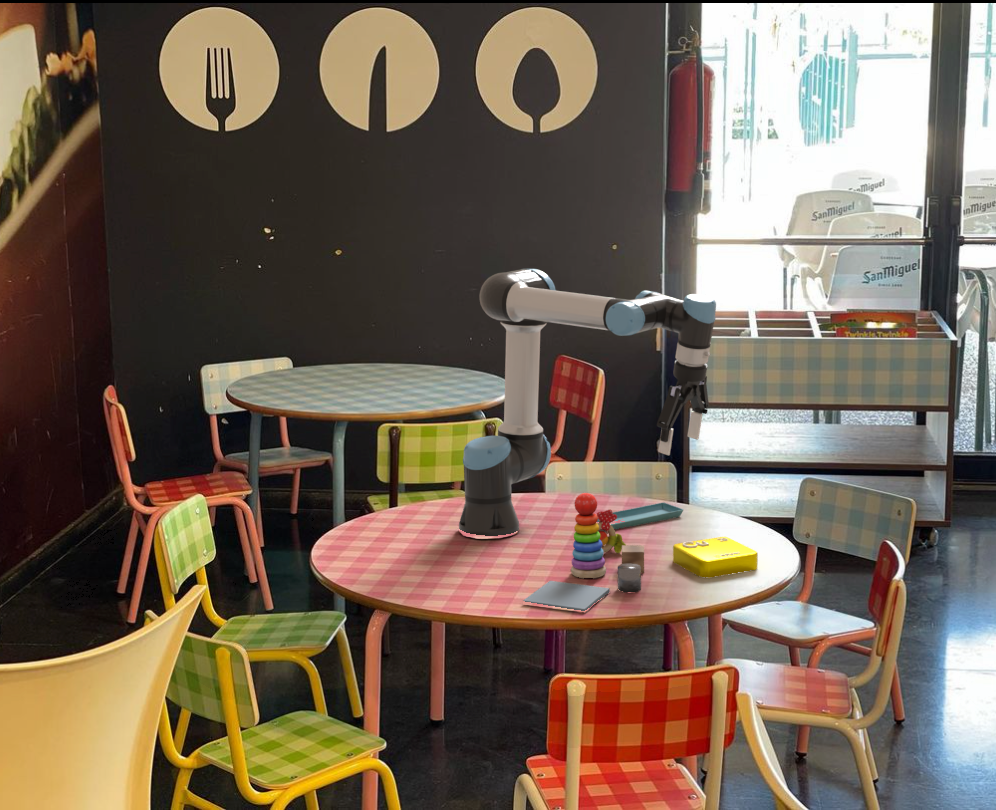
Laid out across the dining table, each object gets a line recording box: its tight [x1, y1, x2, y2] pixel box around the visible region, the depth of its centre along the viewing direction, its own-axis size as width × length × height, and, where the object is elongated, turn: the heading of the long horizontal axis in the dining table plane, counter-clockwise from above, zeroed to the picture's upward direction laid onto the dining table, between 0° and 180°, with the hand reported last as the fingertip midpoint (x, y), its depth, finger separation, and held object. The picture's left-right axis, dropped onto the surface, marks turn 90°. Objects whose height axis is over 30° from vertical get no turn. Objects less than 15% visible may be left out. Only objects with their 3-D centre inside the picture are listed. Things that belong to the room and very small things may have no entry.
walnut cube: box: [621, 544, 645, 574], centre depth 302 cm, size 5×5×5 cm
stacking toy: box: [570, 492, 607, 579], centre depth 298 cm, size 8×8×19 cm
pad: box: [522, 580, 611, 611], centre depth 284 cm, size 14×14×1 cm
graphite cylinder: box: [617, 563, 642, 593], centre depth 289 cm, size 5×5×5 cm
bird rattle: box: [596, 509, 627, 554], centre depth 314 cm, size 6×11×9 cm
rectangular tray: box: [597, 501, 684, 531], centre depth 341 cm, size 26×9×2 cm, turn 119°
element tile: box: [672, 536, 759, 579], centre depth 304 cm, size 15×15×5 cm
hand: (678, 445), depth 316 cm, fingers open, 13 cm apart
